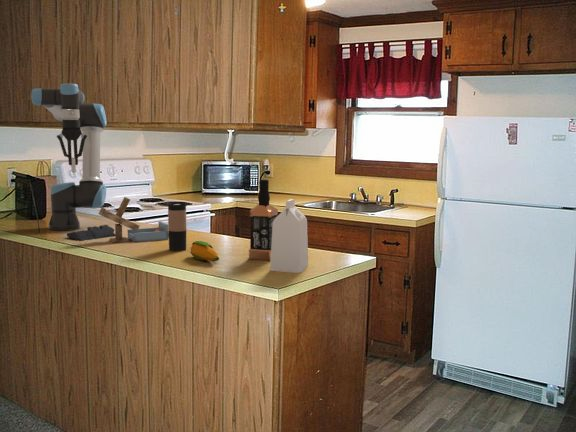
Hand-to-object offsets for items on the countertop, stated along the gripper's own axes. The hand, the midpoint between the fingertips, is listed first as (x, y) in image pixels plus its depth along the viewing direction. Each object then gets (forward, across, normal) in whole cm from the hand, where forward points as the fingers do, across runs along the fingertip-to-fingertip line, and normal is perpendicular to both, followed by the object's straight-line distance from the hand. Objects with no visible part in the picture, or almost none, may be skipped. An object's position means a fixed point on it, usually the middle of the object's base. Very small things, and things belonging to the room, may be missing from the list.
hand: (73, 172), depth 277 cm
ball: (+30, +36, -6) cm, 47 cm away
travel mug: (+32, +36, -37) cm, 61 cm away
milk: (+31, +65, -87) cm, 113 cm away
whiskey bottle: (+32, +64, -66) cm, 97 cm away
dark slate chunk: (+33, +8, +11) cm, 35 cm away
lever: (+23, +18, -6) cm, 29 cm away
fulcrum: (+32, +18, -6) cm, 37 cm away
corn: (+32, +41, -61) cm, 80 cm away
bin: (+32, +31, -6) cm, 45 cm away
